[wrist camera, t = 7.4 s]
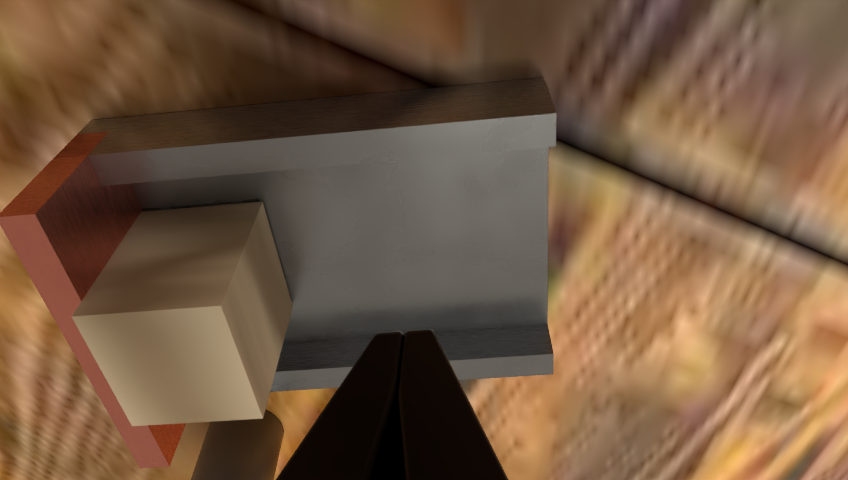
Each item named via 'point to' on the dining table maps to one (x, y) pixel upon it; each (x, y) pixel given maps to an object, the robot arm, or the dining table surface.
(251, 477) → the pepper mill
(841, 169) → the dining table surface
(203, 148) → the grey open tray
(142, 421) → the block
